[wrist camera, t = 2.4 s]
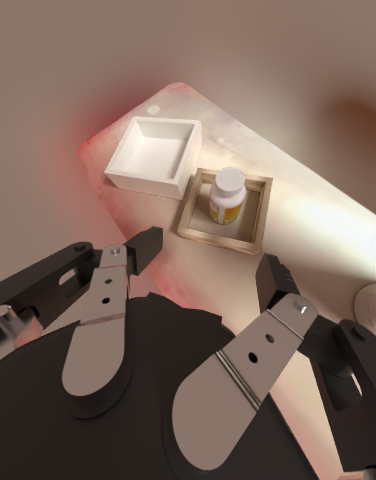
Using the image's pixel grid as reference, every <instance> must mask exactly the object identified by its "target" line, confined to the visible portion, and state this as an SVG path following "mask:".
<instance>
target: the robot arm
mask: <svg viewBox="0 0 376 480" xmlns="http://www.w3.org/2000/svg"><path fill="white" fill-rule="evenodd" d="M162 244H163V229H162V228H159V227H155V226H153V227H151V228H150V229H148V230H146V231H143V232H140V233H139V234H137V235H136V236H134V237H133V238H131V239H130V240H128V241H127V242H126V243H124V244H123V245H121V244H114V245H110V246H108V247H106V248H105V249H104V250H95V249H93V246H92V244H91V243H89V242H78V243H74V244H72V245H70V246H68V247H66V248H64V249H62V250H60V251H58V252H56V253H54V254H53V255H50V256H49V257H47V258H45V259H43V260H41V261H39V262H37V263H35V264H33V265H31V266H30V267H27V268H26V269H24V270H22V271H20V272H18V273H16V274H14V275H12V276H10V277H8V278H7V279H5V280H3V281H1V282H0V480H319V478H318V476H317V474H316V473H315V471H314V469H313V468H312V466H311V464H310V462H309V461H308V459H307V457H306V455H305V454H304V452H303V450H302V448H301V447H300V445H299V443H298V441H297V440H296V438H295V436H294V434H293V433H292V431H291V429H290V427H289V426H288V424H287V422H286V420H285V419H284V417H283V415H282V414H281V412H280V410H279V408H278V407H277V405H276V403H275V401H274V400H273V398H272V396H271V394H270V393H269V391H270V389H271V388H272V386H273V385H274V383H275V382H276V380H277V379H278V377H279V375H280V374H281V372H282V371H283V369H284V368H285V366H286V365H287V363H288V362H289V360H290V359H291V357H292V356H293V354H294V353H295V351H296V350H297V351H299V352H300V353H302V354H303V355H305V356H306V357H308V358H309V359H310V363H311V366H312V369H313V372H314V376H315V379H316V382H317V386H318V389H319V392H320V395H321V399H322V402H323V405H324V409H325V412H326V415H327V419H328V422H329V425H330V428H331V432H332V435H333V438H334V442H335V445H336V448H337V451H338V455H339V458H340V461H341V465H342V468H343V471H344V473H342V474H341V475H340V476H339V479H338V480H376V283H374V284H370V285H367V286H365V287H364V288H362V289H361V290H360V291H359V292H358V294H357V295H356V298H355V301H354V313H355V316H356V319H357V322H358V323H356V322H354V321H351V320H347V319H343V320H341V321H340V322H339V323H338V324H336V323H334V322H332V321H330V320H328V319H326V318H324V317H322V316H321V315H319V314H318V312H317V309H316V308H315V306H314V305H313V304H312V303H311V302H310V301H309V300H307V299H306V298H304V297H302V296H301V295H300V293H299V291H298V289H297V286H296V284H295V282H294V280H293V278H292V277H291V274H290V271H289V270H288V269H287V268H286V267H285V266H284V265H282V264H280V262H279V260H278V257H277V256H275V255H270V254H266V253H265V254H264V255H263V257H262V260H261V262H260V264H259V267H258V269H257V272H256V285H257V292H258V299H259V306H260V313H261V315H260V316H259V317H257V318H256V319H255V320H254V321H253V322H252V323H251V324H250V325H248V326H247V327H246V328H245V329H244V330H243V331H242V332H241V333H240V334H238V335H237V336H235V335H234V333H233V332H232V331H231V330H230V329H228V328H227V327H226V326H225V325H223V324H222V323H221V322H222V316H219V315H216V314H213V313H210V312H207V311H204V310H198V309H188V308H182V307H180V306H179V305H177V304H176V303H174V302H173V301H171V300H170V299H168V298H166V297H164V296H161V295H158V294H155V293H152V292H150V293H149V294H148V295H147V297H135V298H131V296H130V275H131V274H133V275H136V276H138V275H139V274H140V273H141V272H142V271H143V270H144V269H145V268H146V266H147V265H148V264H149V263H150V262H151V261H152V260H153V259H154V258H155V257H156V255H157V254H158V253H159V252H160V251H161V249H162ZM71 269H74V272H75V275H74V276H72V277H71V278H70V279H68V280H67V281H66V282H64V283H63V284H62V285H59V280H60V278H61V277H62V276H63V275H64V274H65V273H67V272H68V271H70V270H71ZM87 290H89V292H88V295H87V300H86V303H85V307H84V311H83V315H82V319H81V320H78V321H76V322H74V323H71V324H69V325H67V326H65V327H62V328H60V329H58V330H55V331H53V332H51V333H48V334H46V335H44V336H41V334H42V331H43V330H45V329H46V328H47V327H48V326H49V325H50V324H51V323H52V322H53V321H54V320H56V319H57V318H58V317H59V316H60V315H61V314H62V313H63V312H64V311H65V310H66V309H68V308H69V307H70V306H71V305H72V304H73V303H74V302H75V301H76V300H77V299H79V298H80V297H81V296H82V295H83V294H84V293H85V292H86V291H87ZM40 336H41V337H40ZM353 373H354V375H355V377H356V379H357V381H358V383H359V385H360V388H361V391H362V396H361V394H360V392H359V390H358V388H357V386H356V384H355V382H354V380H353V378H352V376H351V374H353Z"/></svg>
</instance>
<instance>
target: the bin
mask: <svg viewBox="0 0 376 480" xmlns="http://www.w3.org/2000/svg"><path fill="white" fill-rule="evenodd" d="M201 144H202V134H201V121H196V120H180V119H164V118H148V117H133V119H132V121H131V123H130V125H129V127H128V128H127V130H126V132H125V134H124V136H123V138H122V140H121V142H120V143H119V145H118V147H117V149H116V151H115V153H114V155H113V157H112V159H111V160H110V162H109V164H108V166H107V168H106V170H105V172H104V173H105V174H106V175H107V176H108V178H109V179H110V180H111V181H112V182H113V183H114V184H115V185H116V186H117V187H118V188H120V189H125V190H130V191H136V192H141V193H146V194H152V195H157V196H163V197H168V198H173V199H179V200H183V197H184V194H185V191H186V188H187V185H188V182H189V179H190V176H191V174H192V171H193V168H194V165H195V162H196V159H197V156H198V153H199V150H200V147H201Z"/></svg>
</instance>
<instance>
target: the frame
mask: <svg viewBox="0 0 376 480" xmlns="http://www.w3.org/2000/svg"><path fill="white" fill-rule="evenodd" d="M218 172H219V171H217V170H209V169H202V168H198V169H197V172H196V175H195V178H194V181H193V184H192V187H191V190H190V193H189V196H188V199H187V202H186V205H185V208H184V211H183V214H182V217H181V220H180V223H179V226H178V229H177V233H178V235H179V236H180V237H182V238H186V239H190V240H194V241H198V242H202V243H206V244H210V245H214V246H219V247H223V248H227V249H231V250H235V251H239V252H243V253H247V254H251V255H256V254H257V253H259V252H260V251H261V245H262V239H263V233H264V227H265V221H266V215H267V210H268V204H269V198H270V192H271V186H272V180H273V178H269V177H262V176H254V175H247V174H244V175H245V183H244V185H245V189H246V190H252V191H258V192H261V193H260V198H259V203H258V209H257V214H256V219H255V224H254V230H253V235H252V240H251V243H248V242H244V241H240V240H235V239H231V238H227V237H222V236H218V235H213V234H209V233H205V232H200V231H196V230H192V229H188V226H189V223H190V220H191V217H192V214H193V210H194V207H195V204H196V201H197V198H198V194H199V191H200V188H201V185H202V183H206V184H213V183H214V182H215V177H216V175H217V173H218Z"/></svg>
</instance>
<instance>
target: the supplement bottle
mask: <svg viewBox="0 0 376 480" xmlns="http://www.w3.org/2000/svg"><path fill="white" fill-rule="evenodd" d="M244 183H245V175H244V173H243V172H242V171H241V170H239V169H238V168H234V167H227V168H224V169H222V170H220V171H219V172H218V173H217V175H216V177H215V182H214V183H213V185H212V186H211V189H210V215H211V217H212V219H213V220H214V221H215V222H216V223H219V224H229V223H232V222H233V221H234V220H235V219H236V218H237V216H238V213H239V211H240V208H241V206H242V203H243V201H244V198H245V194H246V189H245V185H244Z"/></svg>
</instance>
